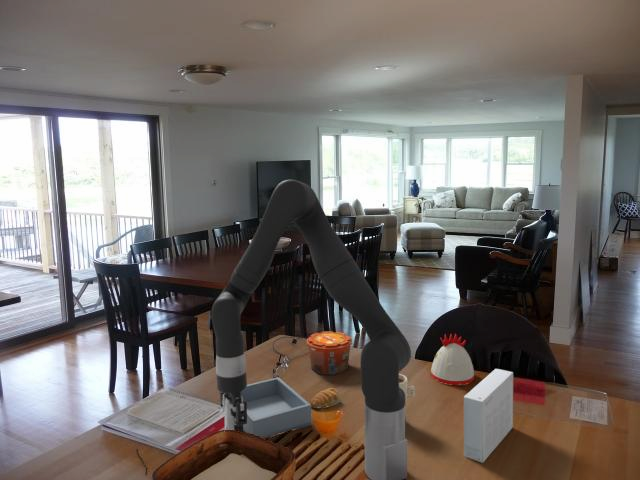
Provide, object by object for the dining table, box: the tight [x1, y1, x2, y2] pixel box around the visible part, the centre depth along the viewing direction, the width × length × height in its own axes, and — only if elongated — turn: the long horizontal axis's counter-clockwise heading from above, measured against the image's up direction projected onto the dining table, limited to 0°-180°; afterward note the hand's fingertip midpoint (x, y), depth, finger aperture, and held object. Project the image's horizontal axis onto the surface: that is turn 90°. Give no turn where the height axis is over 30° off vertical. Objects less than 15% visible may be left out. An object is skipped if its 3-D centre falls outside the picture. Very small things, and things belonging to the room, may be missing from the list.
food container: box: [306, 330, 353, 375], centre depth 181 cm, size 16×16×11 cm
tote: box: [241, 377, 312, 438], centre depth 147 cm, size 21×17×6 cm
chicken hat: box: [430, 333, 475, 386], centre depth 172 cm, size 14×14×15 cm
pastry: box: [310, 387, 342, 409], centre depth 155 cm, size 9×7×4 cm
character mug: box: [399, 373, 416, 422], centre depth 143 cm, size 11×7×13 cm, turn 77°
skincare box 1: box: [223, 399, 241, 431], centre depth 134 cm, size 6×4×12 cm
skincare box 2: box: [463, 368, 514, 464], centre depth 133 cm, size 21×5×16 cm, turn 141°
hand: (234, 430), depth 134 cm, fingers closed on skincare box 1, 6 cm apart
